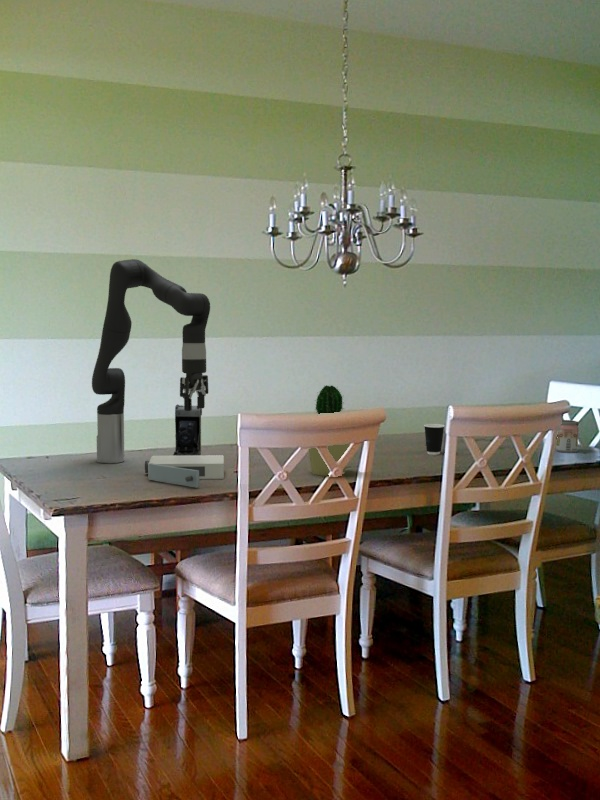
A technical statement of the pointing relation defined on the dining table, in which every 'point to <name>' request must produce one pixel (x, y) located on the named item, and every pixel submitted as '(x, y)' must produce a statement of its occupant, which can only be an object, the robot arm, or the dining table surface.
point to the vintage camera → (188, 431)
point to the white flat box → (193, 464)
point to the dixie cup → (434, 438)
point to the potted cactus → (327, 403)
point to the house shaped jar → (568, 437)
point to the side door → (174, 475)
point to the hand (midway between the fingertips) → (194, 409)
